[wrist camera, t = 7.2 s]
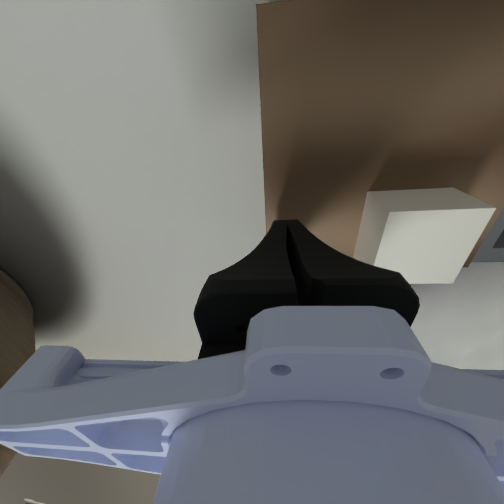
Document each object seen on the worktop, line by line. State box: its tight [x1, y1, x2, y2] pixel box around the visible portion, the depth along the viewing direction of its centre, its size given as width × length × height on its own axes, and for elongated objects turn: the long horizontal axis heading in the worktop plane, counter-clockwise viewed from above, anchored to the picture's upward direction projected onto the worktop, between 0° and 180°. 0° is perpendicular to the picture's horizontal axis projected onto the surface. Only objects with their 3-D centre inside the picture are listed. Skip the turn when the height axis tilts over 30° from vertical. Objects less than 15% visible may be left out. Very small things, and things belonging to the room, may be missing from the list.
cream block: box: [353, 188, 496, 284], centre depth 11 cm, size 4×4×2 cm
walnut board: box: [256, 0, 504, 267], centre depth 12 cm, size 12×12×4 cm
